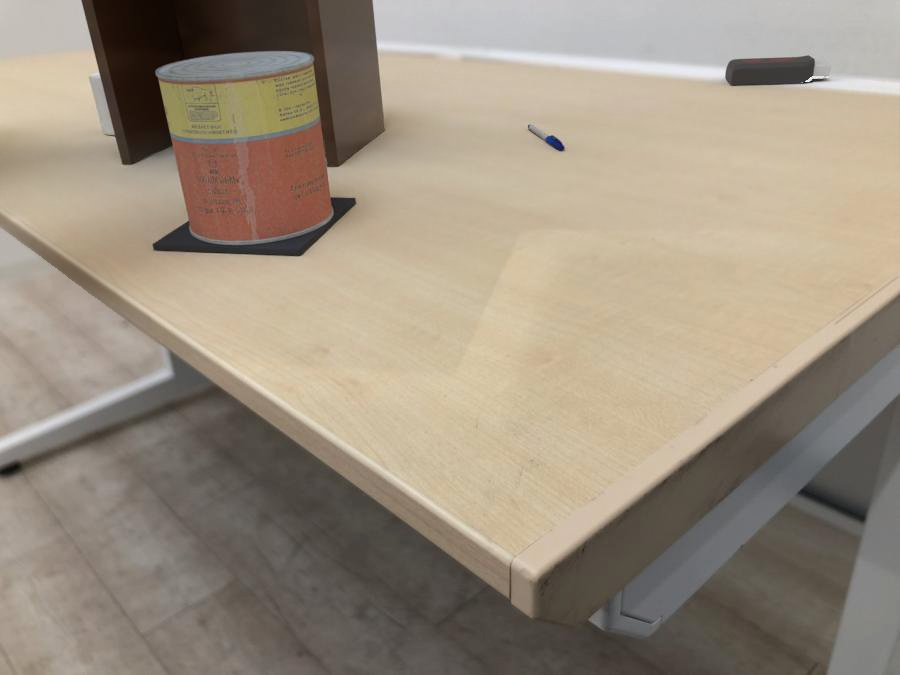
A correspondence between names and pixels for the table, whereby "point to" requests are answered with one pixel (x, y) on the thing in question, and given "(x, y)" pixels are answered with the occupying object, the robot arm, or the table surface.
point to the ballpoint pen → (547, 138)
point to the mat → (294, 246)
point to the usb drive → (775, 70)
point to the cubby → (236, 31)
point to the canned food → (248, 145)
